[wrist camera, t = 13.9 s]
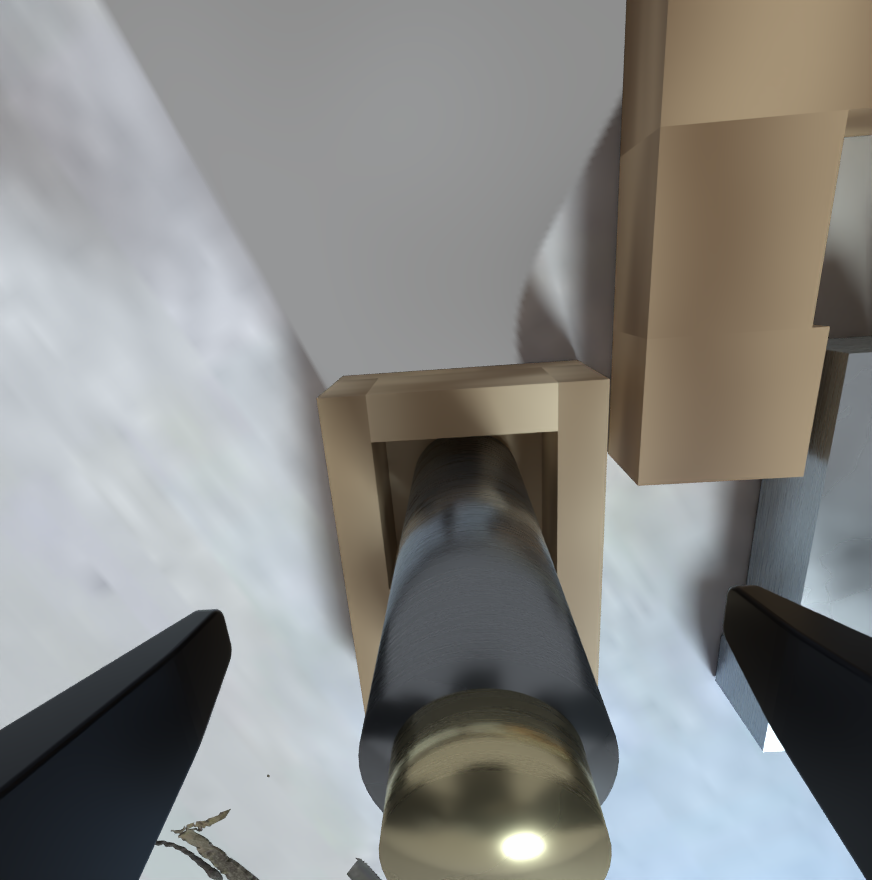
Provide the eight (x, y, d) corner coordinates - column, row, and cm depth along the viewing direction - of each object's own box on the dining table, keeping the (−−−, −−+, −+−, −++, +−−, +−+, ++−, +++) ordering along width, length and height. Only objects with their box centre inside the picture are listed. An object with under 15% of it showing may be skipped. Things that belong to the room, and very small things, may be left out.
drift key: (891, 334, 13) (1000, 347, 11) (817, 676, 17) (884, 748, 15) (760, 343, 14) (836, 357, 11) (715, 680, 17) (762, 751, 15)
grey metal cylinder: (518, 426, 14) (662, 735, 4) (520, 524, 15) (641, 953, 5) (409, 433, 14) (319, 745, 5) (418, 529, 15) (361, 951, 6)
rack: (577, 359, 14) (686, 424, 8) (571, 682, 18) (641, 911, 11) (342, 376, 14) (255, 450, 8) (384, 689, 18) (348, 914, 12)
